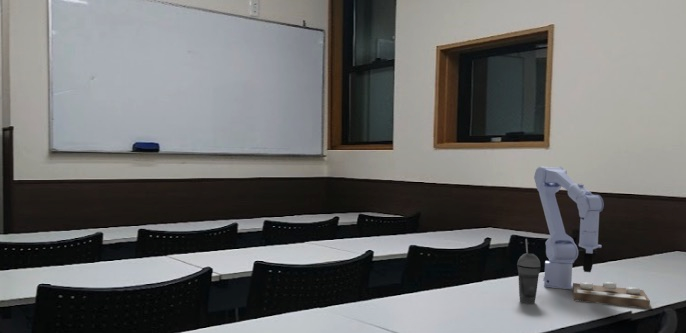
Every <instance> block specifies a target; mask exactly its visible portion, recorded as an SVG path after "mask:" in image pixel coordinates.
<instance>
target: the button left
mask: <svg viewBox="0 0 686 333" xmlns="http://www.w3.org/2000/svg"><path fill="white" fill-rule="evenodd" d="M579 284H580V288H582V289H587V290H592V289H593V285H594V283H591V282H586V281H585V282H584V281H581V282H580V283H579Z"/></svg>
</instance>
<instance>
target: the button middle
mask: <svg viewBox="0 0 686 333" xmlns="http://www.w3.org/2000/svg"><path fill="white" fill-rule="evenodd" d="M602 286H603V288H607V289H616V287H617V282H612V281H602Z"/></svg>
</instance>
